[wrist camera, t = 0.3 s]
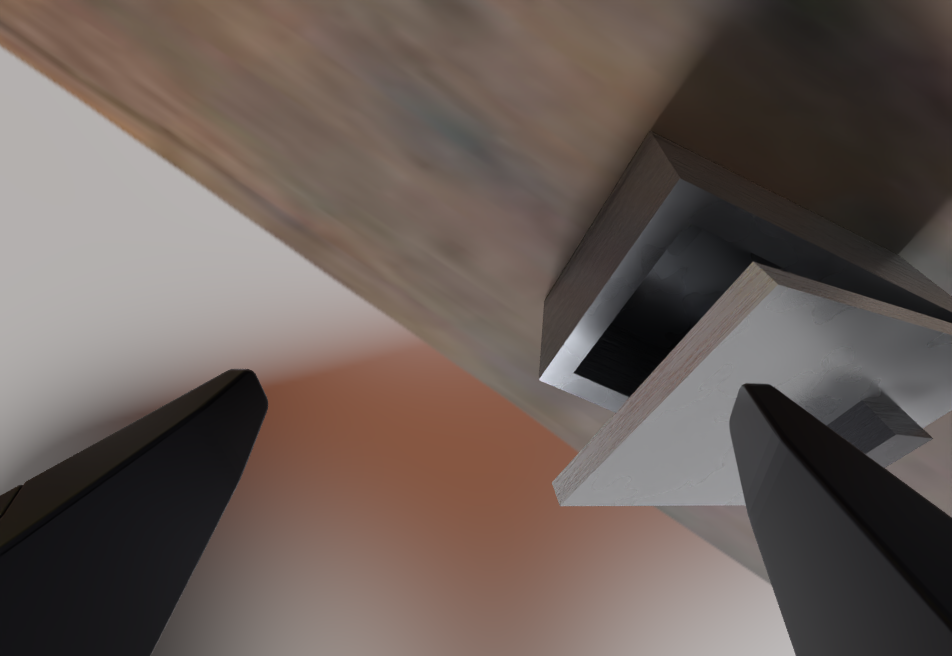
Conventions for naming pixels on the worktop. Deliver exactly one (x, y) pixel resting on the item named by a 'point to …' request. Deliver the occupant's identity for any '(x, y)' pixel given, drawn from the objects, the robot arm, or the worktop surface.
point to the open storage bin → (692, 268)
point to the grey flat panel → (776, 363)
